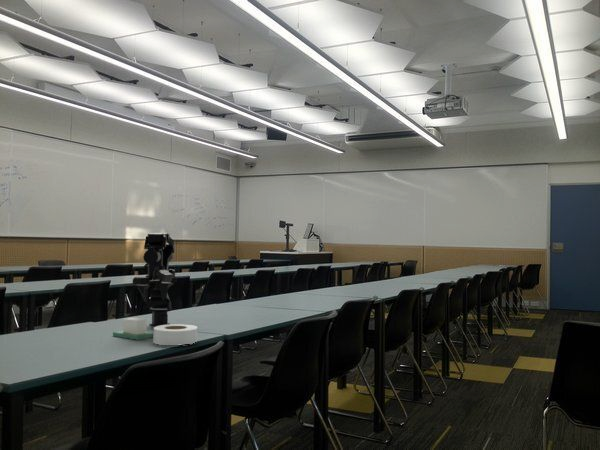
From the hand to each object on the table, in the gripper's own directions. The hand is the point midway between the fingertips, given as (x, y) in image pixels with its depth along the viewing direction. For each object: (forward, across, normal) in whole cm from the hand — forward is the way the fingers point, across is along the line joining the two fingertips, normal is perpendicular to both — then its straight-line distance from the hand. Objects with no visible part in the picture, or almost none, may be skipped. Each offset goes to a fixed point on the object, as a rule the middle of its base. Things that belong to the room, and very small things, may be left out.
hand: (154, 300), depth 219 cm
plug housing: (+10, -14, -5) cm, 18 cm away
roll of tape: (+12, -12, -25) cm, 31 cm away
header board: (+12, -14, -5) cm, 19 cm away
